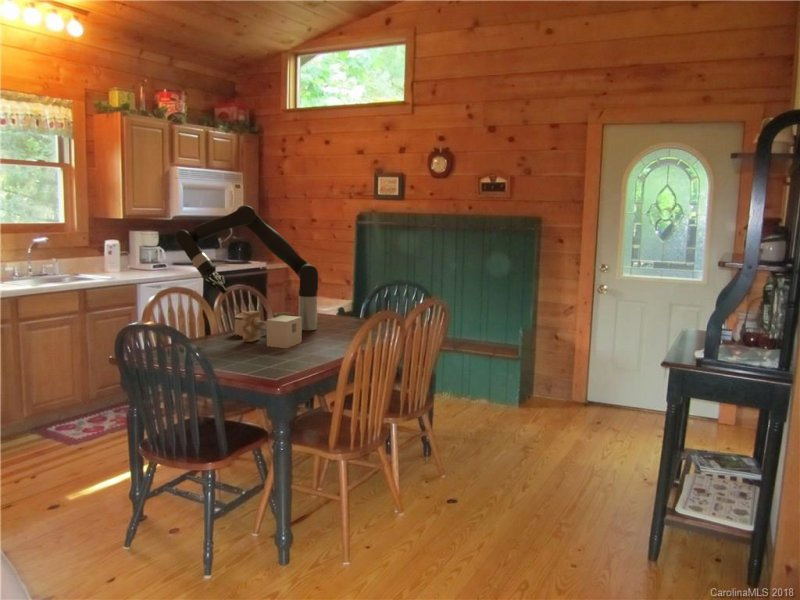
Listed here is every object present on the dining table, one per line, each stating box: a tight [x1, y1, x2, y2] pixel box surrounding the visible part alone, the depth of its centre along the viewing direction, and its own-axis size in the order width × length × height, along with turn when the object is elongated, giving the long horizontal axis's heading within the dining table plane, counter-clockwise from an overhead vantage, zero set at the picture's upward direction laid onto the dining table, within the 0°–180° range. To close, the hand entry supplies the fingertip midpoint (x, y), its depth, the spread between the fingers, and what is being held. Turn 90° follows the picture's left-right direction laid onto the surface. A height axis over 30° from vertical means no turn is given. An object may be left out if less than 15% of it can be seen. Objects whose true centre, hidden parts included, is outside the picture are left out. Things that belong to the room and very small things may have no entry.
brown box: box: [242, 310, 267, 343], centre depth 301 cm, size 15×8×13 cm, turn 70°
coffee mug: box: [266, 311, 295, 321], centre depth 322 cm, size 13×10×10 cm
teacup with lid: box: [233, 310, 247, 336], centre depth 319 cm, size 12×9×12 cm
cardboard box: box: [266, 315, 303, 349], centre depth 297 cm, size 10×14×12 cm
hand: (225, 292), depth 308 cm, fingers closed
